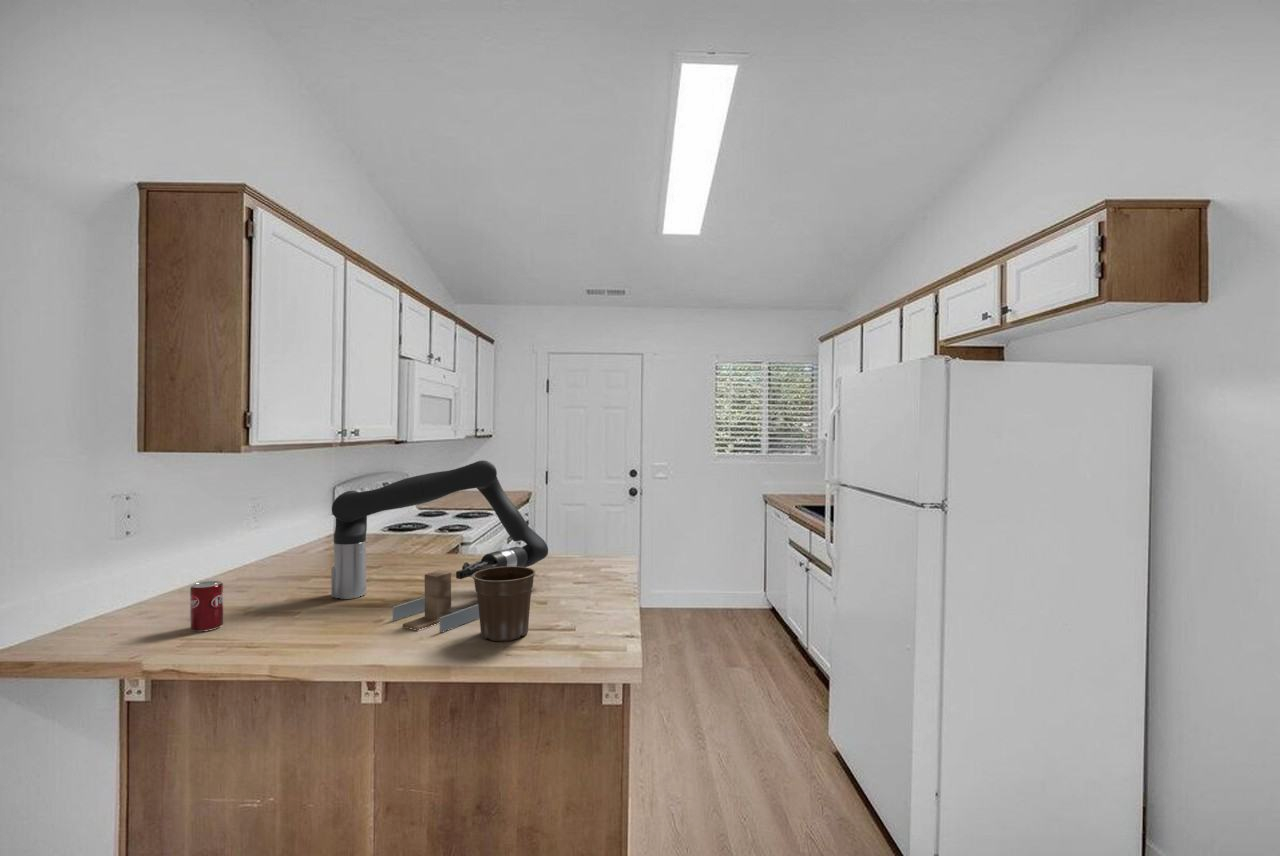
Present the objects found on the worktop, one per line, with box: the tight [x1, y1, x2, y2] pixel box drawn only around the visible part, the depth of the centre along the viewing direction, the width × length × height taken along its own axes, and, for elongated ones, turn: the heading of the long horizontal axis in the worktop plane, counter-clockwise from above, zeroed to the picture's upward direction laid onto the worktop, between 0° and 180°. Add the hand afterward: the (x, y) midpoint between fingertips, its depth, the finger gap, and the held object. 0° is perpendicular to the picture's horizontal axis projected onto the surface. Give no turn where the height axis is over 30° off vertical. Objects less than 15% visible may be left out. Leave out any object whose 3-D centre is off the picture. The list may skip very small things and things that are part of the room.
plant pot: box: [471, 566, 536, 642], centre depth 162 cm, size 16×16×16 cm
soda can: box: [189, 580, 224, 632], centre depth 166 cm, size 7×7×12 cm
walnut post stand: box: [402, 570, 452, 630], centre depth 170 cm, size 12×6×13 cm, turn 150°
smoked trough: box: [392, 596, 479, 633], centre depth 174 cm, size 16×19×4 cm
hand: (457, 575), depth 179 cm, fingers closed
